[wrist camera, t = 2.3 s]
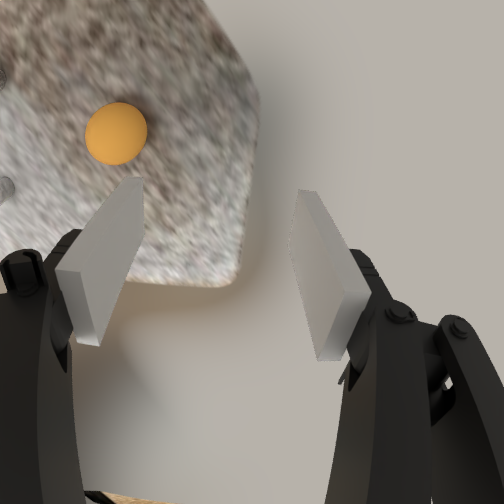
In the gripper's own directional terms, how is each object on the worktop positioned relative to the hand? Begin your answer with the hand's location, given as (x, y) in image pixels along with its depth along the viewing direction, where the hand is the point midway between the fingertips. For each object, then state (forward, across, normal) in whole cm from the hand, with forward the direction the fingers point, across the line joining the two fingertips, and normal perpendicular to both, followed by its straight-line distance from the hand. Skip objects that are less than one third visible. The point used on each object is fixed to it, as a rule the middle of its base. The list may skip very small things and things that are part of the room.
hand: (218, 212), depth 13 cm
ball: (+14, -10, 0) cm, 17 cm away
